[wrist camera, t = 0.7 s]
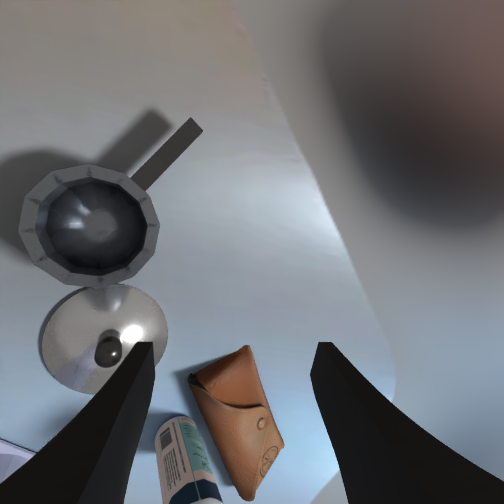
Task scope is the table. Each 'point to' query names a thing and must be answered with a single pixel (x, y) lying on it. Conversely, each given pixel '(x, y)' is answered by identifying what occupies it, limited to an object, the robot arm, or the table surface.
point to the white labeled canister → (184, 464)
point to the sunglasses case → (238, 418)
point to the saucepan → (97, 218)
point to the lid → (100, 334)
